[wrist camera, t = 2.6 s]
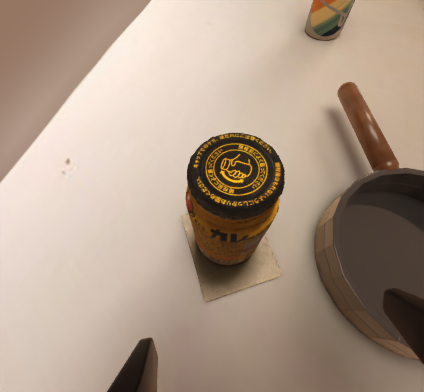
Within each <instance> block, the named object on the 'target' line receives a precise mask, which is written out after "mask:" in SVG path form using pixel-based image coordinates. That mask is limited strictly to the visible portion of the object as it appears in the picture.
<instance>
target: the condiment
mask: <svg viewBox="0 0 424 392" xmlns="http://www.w3.org/2000/svg"><path fill="white" fill-rule="evenodd" d="M284 175H285V174H284V167H283V164H282V162H281V160H280V158H279V156H278V155H277V153H276V152H275V150H274V149H273V148H272V147H271V146H270V145H268V144H267V143H265V142H264V141H262V140H261V139H260V138H258V137H256V136H252V135H248V134H243V133H228V134H224V135H219V136H216V137H212V138H210V139H209V140H208V141H206V142H204V143H203V144H202V145H200V147H199V148H198V149H197V150H196V151H195V153H194V154H193V155H192V156H191V159H190V163H189V165H188V169H187V181H188V187H187V191H186V205H187V209H188V214H185V215H182V216H181V217H182V221H183V224H184V228H185V232H186V235H187V239H188V242H189V246H190V250H191V253H192V257H193V260H194V264H195V268H196V271H197V275H198V279H199V282H200V286H201V289H202V293H203V296H204V300H205V302H208V301H211V300H213V299H216V298H219V297H222V296H225V295H228V294H230V293H234V292H236V291H239V290H242V289H245V288H248V287H251V286H253V285H256V284H259V283H262V282H265V281H268V280H270V279H273V278H276V277H279V276H282V274H281V271H280V269H279V266H278V264H277V262H276V260H275V258H274V255H273V253H272V251H271V249H270V246H269V244H268V242H267V239H266V237H265V233H266V231H267V230H268V228H269V227H270V225H271V223H272V222H273V219H274V218H275V216H276V213H277V212H278V209H279V196H280V195H281V194H282V191H283V188H284V183H285V182H284Z"/></svg>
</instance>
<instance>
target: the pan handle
mask: <svg viewBox="0 0 424 392" xmlns="http://www.w3.org/2000/svg"><path fill="white" fill-rule="evenodd" d="M338 97H339V100H340V102H341V104H342V106H343V108H344V110H345V112H346V114H347V116H348V119H349V121H350V123H351V125H352V127H353V129H354V131H355V133H356V135H357V137H358V140H359V142H360V144H361V146H362V148H363V150H364V152H365V154H366V156H367V159H368V161H369V163H370V165H371V167H372V169H373V171H374V172H376V171H378V170H386V169H387V170H397V169H398V168H399V163H398V161H397V159H396V157H395V155H394V154H393V152H392V150H391V148H390V146H389V144H388V143H387V141H386V139H385V137H384V135H383V133H382V132H381V130H380V128H379V126H378V124H377V122H376V120H375V119H374V117H373V115H372V113H371V111H370V109H369V108H368V106H367V104H366V102H365V100H364V98H363V96H362V95H361V93H360V91H359V89H358V87H357V86H356V84H354V83H352V82H347V83H344V84H343V85H342V86H341V87H340V88H339V90H338Z"/></svg>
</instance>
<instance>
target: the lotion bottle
mask: <svg viewBox="0 0 424 392" xmlns="http://www.w3.org/2000/svg"><path fill="white" fill-rule="evenodd" d="M354 1H355V0H313V3H312V6H311V9H310V12H309V16H308V19H307V23H306V27H305V29H306V32H307V34H308V35H310V36H311V37H313V38H316V39H320V40H330V39H334V38H336V37H337V36H338V35H339V34H340V32H341V30H342V28H343V26H344V24H345V22H346V19H347V17H348V15H349V13H350V10H351V8H352V6H353V4H354Z"/></svg>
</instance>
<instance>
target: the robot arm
mask: <svg viewBox="0 0 424 392" xmlns="http://www.w3.org/2000/svg"><path fill="white" fill-rule="evenodd" d="M382 308H383V311H384V313H385V314H386V315H387V317H388V318H389V320H390V321H391V322H392V324H393V325H394V326H395V328H396V329H397V330H398V332H399V333H400V335H401V336H402V337H403V339H404V340H405V341H406V343H407V344H408V345H409V347H410V348H411V349H412V351H413V352H414V353H415V355H416V356H417V357H418V358H419V359H420V361H421V362H422V363H423V364H424V299H422V298H420V297H418V296H415V295H413V294H410V293H408V292H405V291H403V290H400V289H398V288H391V289H387V290H385V291H384V295H383V303H382ZM157 367H158V356H157V351H156V348H155V345H154V341H153V339H152V338H145V339H141V340H140V341H139V342H138V344H137V346H136V347H135V349H134V350H133V352H132V353H131V355H130V357H129V358H128V360H127V361H126V363H125V364H124V366H123V367H122V369H121V371H120V372H119V374H118V375H117V377H116V378H115V380H114V382H113V383H112V385H111V386H110V388H109V389H108V391H107V392H157Z"/></svg>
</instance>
